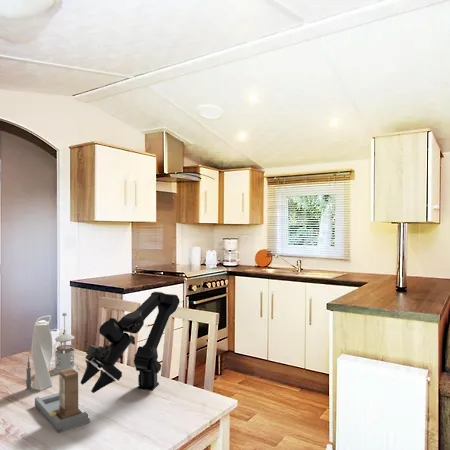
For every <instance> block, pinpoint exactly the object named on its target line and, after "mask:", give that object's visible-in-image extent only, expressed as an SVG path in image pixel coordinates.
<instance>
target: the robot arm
mask: <svg viewBox="0 0 450 450" xmlns="http://www.w3.org/2000/svg"><path fill="white" fill-rule="evenodd" d="M180 301H181V300H180V298H179V296H178V295H177V294H171V293H164V292H162V291H153V292H151V293H150V296H148V298H147V299H146V300H144V301H143V303H141V304H140V305H139V306H138V307H137V308H136V309H135V310H134V311H131V312H129V313H127V314H125V315H124V316H122V317H121V318H120V320H117V319H116V318H114V317H110V318H109V319H108V320H106V321H104V323H102V324H101V325H100V327H99V329H98V330H99V334H100V335H101V336H102V337H103V338H104V339H106V340H107V342H109V345H107V344H105V345H104V346H101V345H100V346H98V345H93V344H89V345H88V348H87V350H86V356H85V357H84V358H85V363H86V366H85V367H86V368H85V370H84V373H83V375H82V378H81V380H80V384H81V385H82V386H83V385H84V384H86V383H87V382H88V381H90V380H91V379H92V378H93V377H94V376H96V374H98V373H99V372H100V374H99V377H98V379H97V381H96V382H95V384H94V385H93V387H92V388H91V390H90V391H91V393H93V394H95V393H96V392H98V391H100V390H101V389H103V388H104V387H106V386H108V385H110V384H112V383H113V382H114V383H115V382H116V381H120V379H121V378H122V377H123V372H122V371H121V370H120V369H118V367H116V366H115V365H116V364H117V362H118V361H119V360H122V359H123V358H124V356H123V354H124V353H125V351H126V350H127V348H129V346H130V344H132V345H136V340H135V338H136V337H135V336H133V334H138V333H139V332H140V331H141V329H142V327H144V324H145V323H144V322H145V320H146V319H147V318H148V317H149V316H150V315H151V314H152V312H154V310H156V308H157V311H158V312H157V314H156V316H155V320H154V322H153V325H152V327H151V329H150V332H149V334H148V336H147V339H146V341H145V343H144V345H142V346H140V345H139V346H138V347H137V348H136V353H134V358H133V364H134V367H135V370H136V372H139V373H138V374H137V375H138V381H137V383H138V386H137V389H138V390H149V391H153V390H154V389H156V387H158V386H159V384H160V382H159V381H158V374H159V373H160V371H161V369H162V364H161V363H160V362H159V361H158V358H159V355H158V354H159V353H158V347H159V344H160V342H161V339H162V336H163V334H164V332H165V329H166V326H167V324H168V321H169V318H170V316H171V315H173V314H174V313H175V312H176V311H177V309H178V306H179V305H180ZM130 334H131V335H130ZM101 368H102V369H101Z"/></svg>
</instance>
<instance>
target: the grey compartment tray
mask: <svg viewBox="0 0 450 450" xmlns="http://www.w3.org/2000/svg"><path fill="white" fill-rule="evenodd" d="M34 407H35V408H36V409H37V410H38V412H39V413H40V414H41V415H42V416H43V418H44V419H45V420H46V421H47V422H48V423H49V424H50V425H51V427H52V428H53V429H54V430H55V431H56V432H57V434H59V433H62V432H65V431H69V430H70V429H73V428H76V427H79V426H82V425H85V424H89V423H90V422H91V419H90V418H89V413H87V411H84V412H83V411H82V410H81V409H80V408H78V409H79V410H80V411H81V413H80V414H77V415H74V416H71V417H68V418H65V419H61V420H60V419H59V418H58V417H57V416H56V411H58V410H59V392H57V393H54V394H50V395H46V396H43V397H40V396H36V397H34Z"/></svg>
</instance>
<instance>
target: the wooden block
mask: <svg viewBox="0 0 450 450" xmlns="http://www.w3.org/2000/svg"><path fill="white" fill-rule="evenodd" d="M58 383H59V384H58V387H59V388H58V389H59V390H58V393H59V410H58V411H56V416H57V417H58V418H59V419H60V420H61V419H65V418H68V417H71V416H74V415H77V414H80V413H81V411H82V410H81V409H80V408H79V372H78V371H76V369H75V370H74V369H72V368H69V369H65V370H61V371H59V373H58ZM79 409H80V410H81V411H80V410H79Z"/></svg>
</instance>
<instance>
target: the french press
mask: <svg viewBox="0 0 450 450" xmlns="http://www.w3.org/2000/svg"><path fill="white" fill-rule="evenodd" d="M62 316H63V320H64V321H63V323H64V325H63V327H64V332H63V333H64V334H59V335H58V336H57V337H56V338H55V337H54V341H55V342H58V343H59V342H60V345H59V346H57V347H56V350H55V352H54V353H55V354H54V357H55V359H54V360H55V361H54V363H55V366H54V368H53V369H52V371H53V373H55V374H59V371H61V370H65V369H69V368H72V369H74V370H75V371H76V369H77V368H78V367H77V366H76V365H75V349H74V345H72V344H66V342H70V341H73V340H74V339H75V336H74V335H72V334H66V316H68V314H67V312H62ZM63 343H64V344H63ZM62 344H63V345H62Z"/></svg>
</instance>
